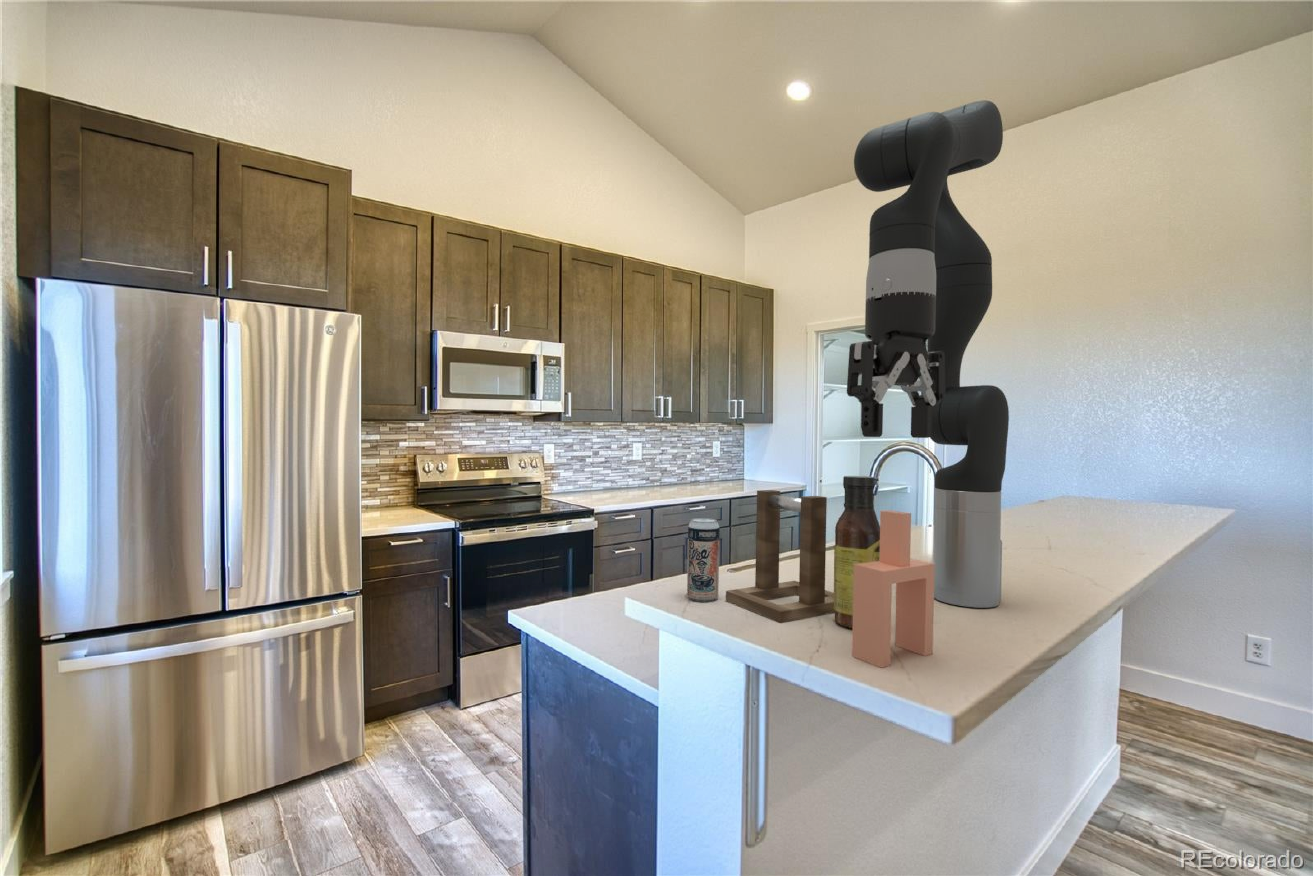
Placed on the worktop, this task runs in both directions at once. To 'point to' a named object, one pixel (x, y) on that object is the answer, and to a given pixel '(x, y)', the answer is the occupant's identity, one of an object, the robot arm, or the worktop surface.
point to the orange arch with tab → (877, 596)
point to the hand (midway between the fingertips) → (896, 437)
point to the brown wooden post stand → (767, 561)
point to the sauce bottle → (854, 542)
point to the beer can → (703, 559)
